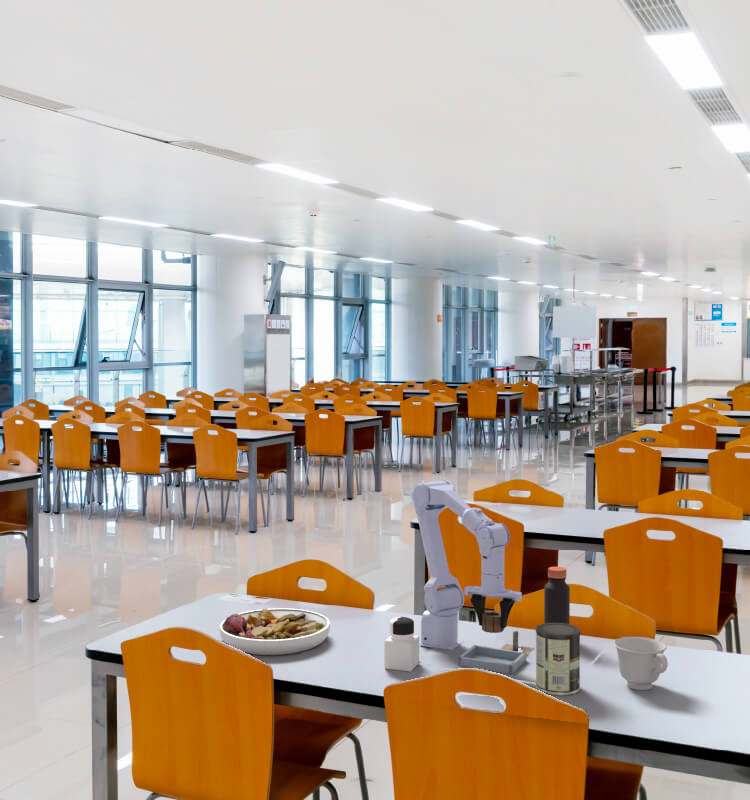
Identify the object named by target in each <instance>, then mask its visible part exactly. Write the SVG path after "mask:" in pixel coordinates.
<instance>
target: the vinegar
mask: <svg viewBox="0 0 750 800" xmlns="http://www.w3.org/2000/svg"><path fill="white" fill-rule="evenodd" d="M547 578H548V582H547V583H545V585H544V594H543V595H544V597H543V598H544V599H543V600H544V602H543V604H544V605H543V609H544V611H543V613H544V614H543V615H544V616H543V624H544V623H566V624H571V623H570V620H571V619H570V618H571V617H570V613H571V612H570V611H571V610H570V609H571V607H570V603H571V601H570V598H571V591H570V590H571V588H570V586H569V584H568V583H567V582H566V579H567V568H565V567H563V566H550V567H548V568H547Z"/></svg>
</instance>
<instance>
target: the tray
mask: <svg viewBox="0 0 750 800" xmlns="http://www.w3.org/2000/svg"><path fill="white" fill-rule="evenodd" d="M526 662H527V656H526V653H524V652H517V651H511V650H504V649H501V648H497V647H489V646H484V645H479V644H478V645H477V644H473V645H471V647H470V648H468V649H467V650H466V651H465V652H463V653H462V654H461V655H460V656H458V666H459V667H465V668H471V667H475V668H474V669H477V668H483V669H488V670H487V671H489V670H491V671H490V672H495V671H497V672H496V673H502V674H507V675H513V674H514V673H515V672H516V671H518V669H519V668H520V667H521V666H522V665H523V664H524V663H526ZM483 669H482V670H483Z"/></svg>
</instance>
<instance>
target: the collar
mask: <svg viewBox="0 0 750 800" xmlns="http://www.w3.org/2000/svg"><path fill="white" fill-rule="evenodd" d="M481 630H482V631H483V632H485V633H490V634H497V633H498V634H499V633H502V632H503V631H504V630H505V628H504V629H501V611H496V610H494V611H493V610H488V611H485V612H484V613H482V626H481Z"/></svg>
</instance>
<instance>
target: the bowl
mask: <svg viewBox="0 0 750 800" xmlns="http://www.w3.org/2000/svg"><path fill="white" fill-rule="evenodd" d="M330 630H331V621H330V619H329V618H328V617H326V616H325V615H323V614H321V613H318V612H315V611H311V610H307V609H299V608H298V609H297V608H283V607H282V608H264V609H255V610H249V611H244V612H240V613H234V614H233V613H232V614H231V615H229V616H228V617H226V618H225V619H224V620H222V622H221V623H220V624H219V633H220V638H221V639H222V641H223V642H224V643H225V644H226V643H227V644H229V645H231V646H233V647H235V648H237V649H240V650H242V651H245V652H247V653H246V654H249V653H250V655H257V656H258V655H259V656H282V655H291V654H298V653H301V652H306V651H308V650H311V649H313V648H315V647H318V646H319V645H320V644H321V643H323V642H324V641H325V640H326V639H327V637H328V635H329V633H330ZM227 644H226V645H227Z"/></svg>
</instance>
